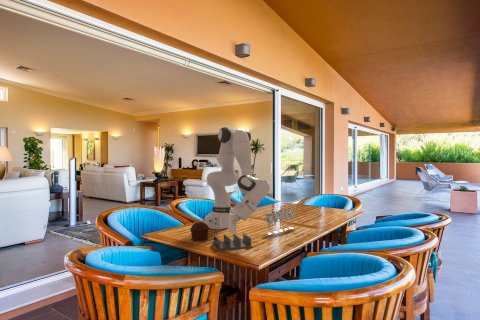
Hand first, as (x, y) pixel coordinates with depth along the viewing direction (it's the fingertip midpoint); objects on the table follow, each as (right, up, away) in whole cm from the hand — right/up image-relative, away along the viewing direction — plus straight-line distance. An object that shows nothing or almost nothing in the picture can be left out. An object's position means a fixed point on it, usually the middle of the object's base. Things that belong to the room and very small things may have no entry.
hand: (231, 222), depth 172 cm
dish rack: (0, -13, 0) cm, 13 cm away
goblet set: (+32, -13, +36) cm, 50 cm away
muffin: (-19, -13, +13) cm, 26 cm away
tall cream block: (+1, -5, 0) cm, 5 cm away
